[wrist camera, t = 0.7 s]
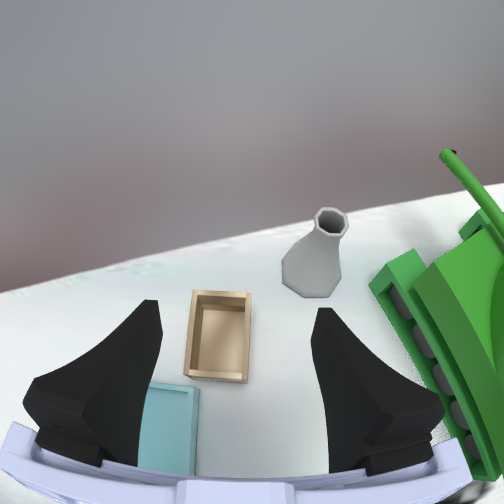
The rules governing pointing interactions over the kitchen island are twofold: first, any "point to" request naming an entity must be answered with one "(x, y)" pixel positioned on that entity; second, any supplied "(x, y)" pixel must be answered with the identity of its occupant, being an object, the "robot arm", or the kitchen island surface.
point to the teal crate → (169, 429)
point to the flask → (316, 256)
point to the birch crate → (218, 336)
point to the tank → (458, 326)
